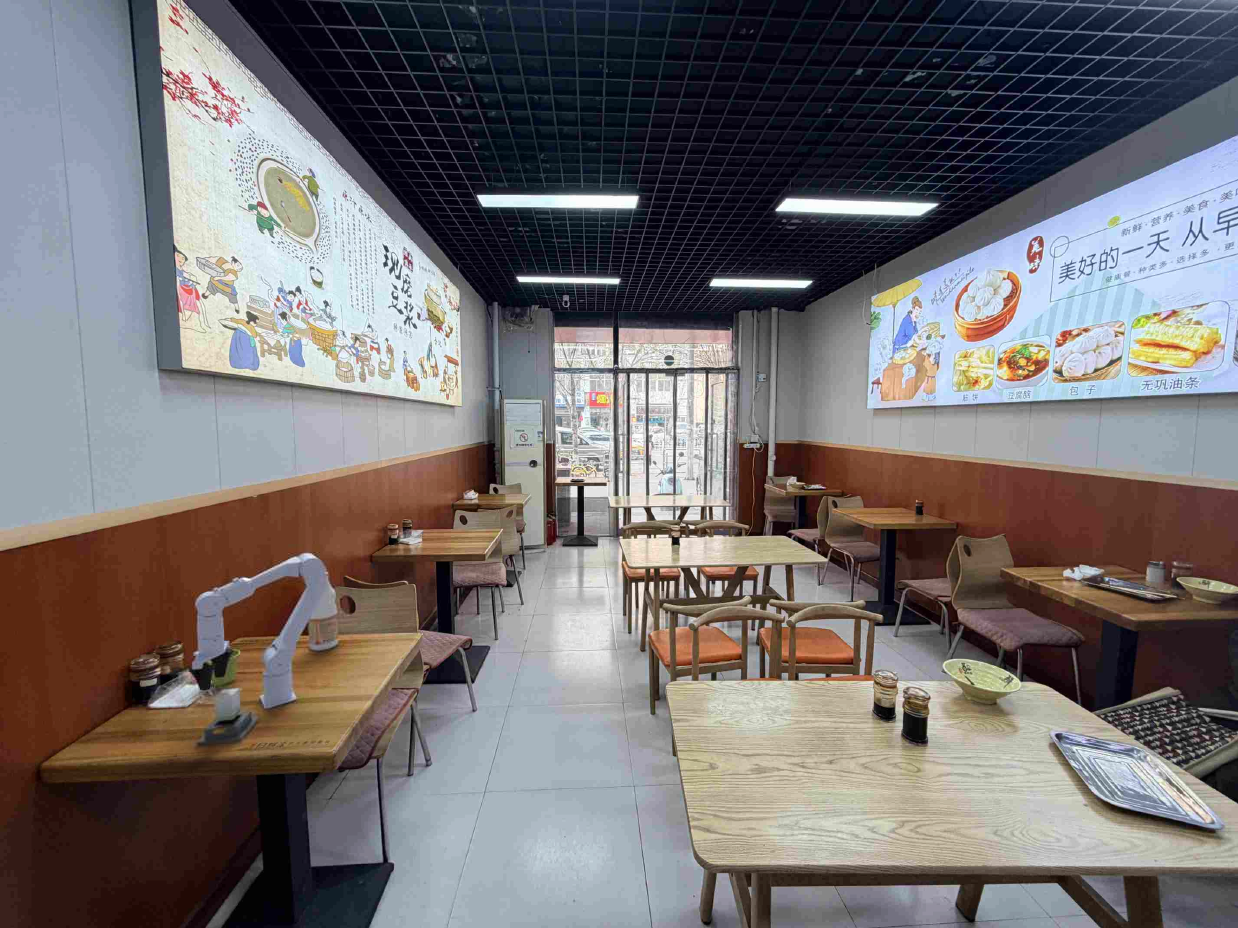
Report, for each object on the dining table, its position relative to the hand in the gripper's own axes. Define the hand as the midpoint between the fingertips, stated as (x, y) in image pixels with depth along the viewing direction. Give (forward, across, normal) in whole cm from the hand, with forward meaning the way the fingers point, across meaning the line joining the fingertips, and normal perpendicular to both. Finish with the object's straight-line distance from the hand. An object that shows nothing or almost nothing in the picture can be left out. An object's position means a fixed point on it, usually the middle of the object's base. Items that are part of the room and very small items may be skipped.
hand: (212, 683), depth 144 cm
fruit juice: (+10, -48, +13) cm, 51 cm away
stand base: (+10, +8, +8) cm, 15 cm away
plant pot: (+11, -25, -9) cm, 28 cm away
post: (+6, +8, +7) cm, 13 cm away
